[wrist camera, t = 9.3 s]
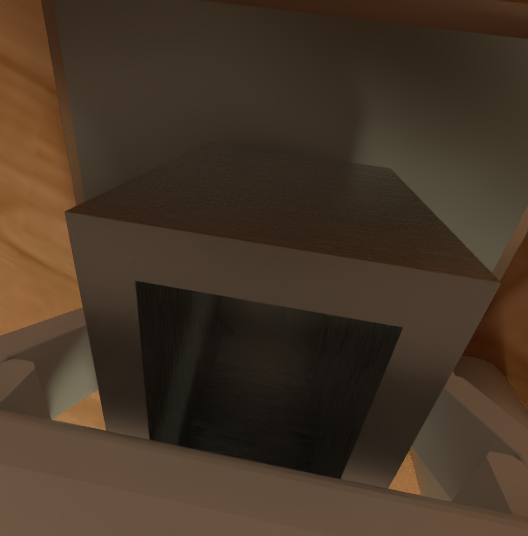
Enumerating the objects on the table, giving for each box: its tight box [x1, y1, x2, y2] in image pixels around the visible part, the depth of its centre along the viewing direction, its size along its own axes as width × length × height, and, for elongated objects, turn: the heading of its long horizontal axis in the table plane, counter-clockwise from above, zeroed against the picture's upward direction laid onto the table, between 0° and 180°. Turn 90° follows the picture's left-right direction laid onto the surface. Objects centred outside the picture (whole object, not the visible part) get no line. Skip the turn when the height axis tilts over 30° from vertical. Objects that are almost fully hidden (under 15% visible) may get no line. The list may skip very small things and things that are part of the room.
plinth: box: [41, 0, 528, 281], centre depth 14 cm, size 16×16×4 cm
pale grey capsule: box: [409, 356, 528, 502], centre depth 16 cm, size 6×6×8 cm
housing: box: [65, 142, 501, 489], centre depth 8 cm, size 5×8×6 cm, turn 173°
